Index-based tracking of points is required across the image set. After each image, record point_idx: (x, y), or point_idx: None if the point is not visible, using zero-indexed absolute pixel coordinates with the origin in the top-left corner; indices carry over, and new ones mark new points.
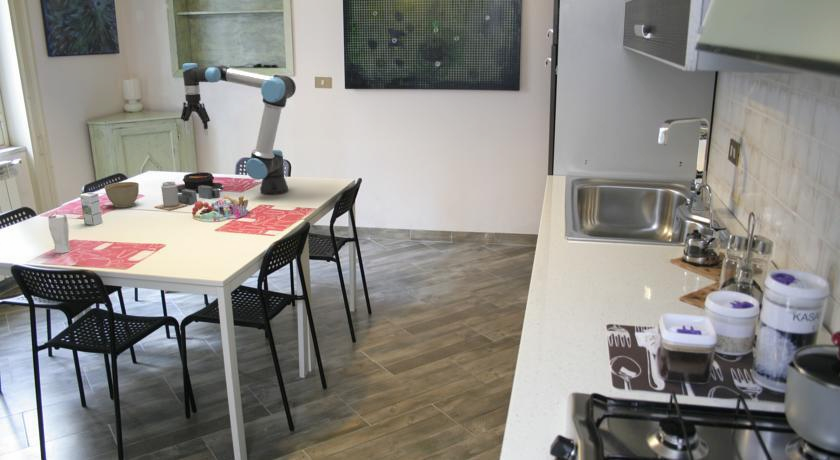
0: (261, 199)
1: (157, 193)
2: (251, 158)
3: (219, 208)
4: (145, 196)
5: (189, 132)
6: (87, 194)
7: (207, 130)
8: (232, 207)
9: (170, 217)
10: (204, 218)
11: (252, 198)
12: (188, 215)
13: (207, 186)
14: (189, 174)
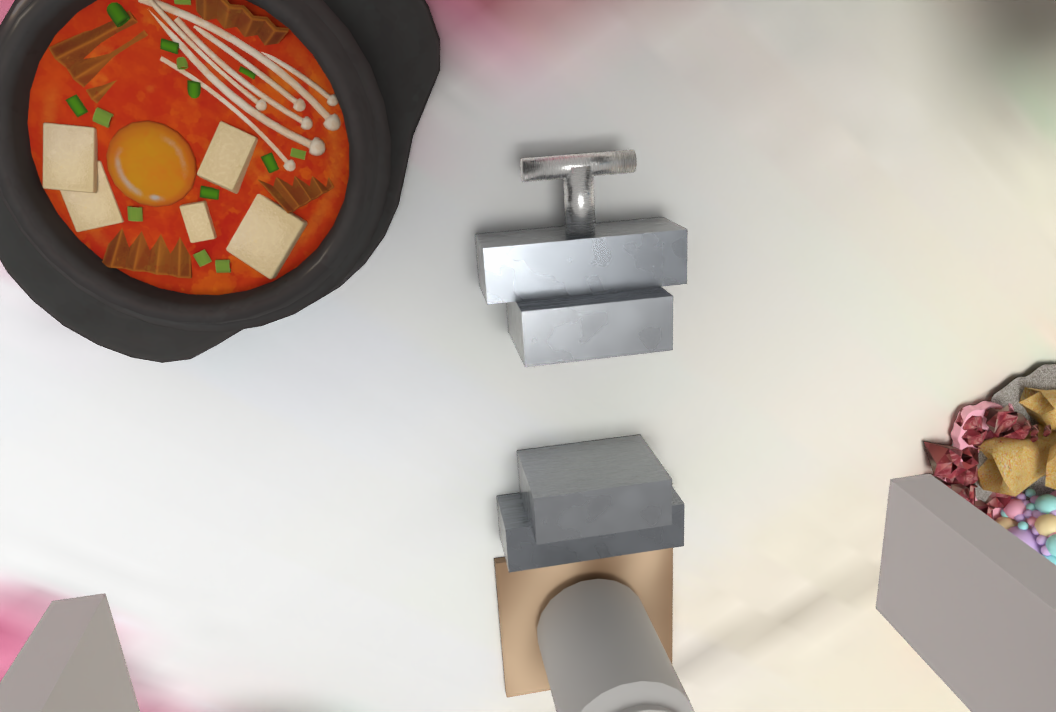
0: (1039, 49)
1: (51, 483)
2: None
3: (1030, 516)
4: (88, 595)
5: (115, 654)
6: None
7: (1025, 545)
8: None
9: None
10: None
11: (949, 72)
12: (858, 637)
13: (616, 315)
14: (16, 175)
